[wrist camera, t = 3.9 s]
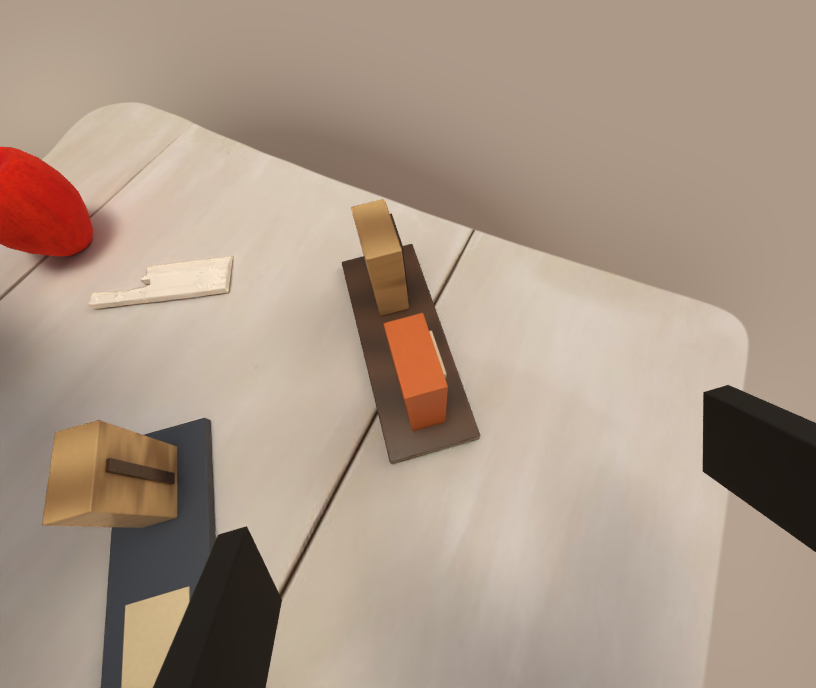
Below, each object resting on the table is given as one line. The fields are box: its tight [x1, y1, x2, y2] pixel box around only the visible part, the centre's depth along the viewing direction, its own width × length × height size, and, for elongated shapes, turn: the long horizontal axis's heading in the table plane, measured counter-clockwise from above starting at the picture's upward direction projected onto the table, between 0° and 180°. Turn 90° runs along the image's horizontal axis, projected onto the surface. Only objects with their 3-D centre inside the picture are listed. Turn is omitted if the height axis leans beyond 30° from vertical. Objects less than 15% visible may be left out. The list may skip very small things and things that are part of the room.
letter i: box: [42, 420, 177, 528], centre depth 29 cm, size 6×3×9 cm, turn 15°
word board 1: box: [101, 418, 215, 688], centre depth 31 cm, size 22×8×1 cm, turn 15°
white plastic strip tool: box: [89, 256, 233, 309], centre depth 44 cm, size 5×15×1 cm, turn 95°
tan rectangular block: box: [351, 199, 409, 316], centre depth 36 cm, size 6×3×9 cm, turn 15°
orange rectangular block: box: [384, 313, 448, 431], centre depth 31 cm, size 6×3×9 cm, turn 15°
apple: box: [0, 147, 93, 257], centre depth 42 cm, size 10×10×12 cm
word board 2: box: [342, 244, 480, 464], centre depth 38 cm, size 22×8×1 cm, turn 15°
